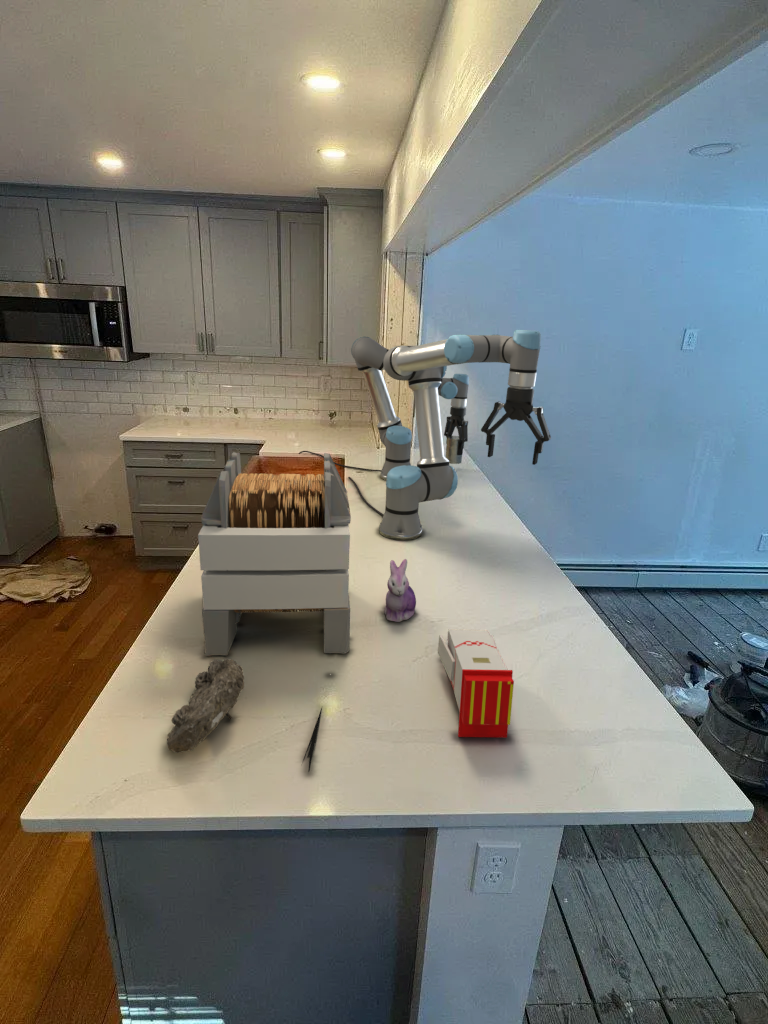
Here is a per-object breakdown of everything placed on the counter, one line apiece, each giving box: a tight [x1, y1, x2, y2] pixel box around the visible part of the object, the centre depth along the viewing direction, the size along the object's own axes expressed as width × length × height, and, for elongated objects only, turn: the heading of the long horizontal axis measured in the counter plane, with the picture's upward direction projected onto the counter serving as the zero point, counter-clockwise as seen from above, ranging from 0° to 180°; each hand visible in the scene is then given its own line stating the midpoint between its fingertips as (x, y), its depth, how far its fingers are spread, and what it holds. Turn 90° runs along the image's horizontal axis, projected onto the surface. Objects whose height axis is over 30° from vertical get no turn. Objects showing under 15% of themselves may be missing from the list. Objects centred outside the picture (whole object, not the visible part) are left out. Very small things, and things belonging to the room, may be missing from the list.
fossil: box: [166, 658, 245, 754], centre depth 106 cm, size 22×10×15 cm
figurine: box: [384, 558, 417, 623], centre depth 145 cm, size 9×10×15 cm
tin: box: [445, 435, 463, 465], centre depth 280 cm, size 8×8×12 cm
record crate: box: [197, 451, 352, 657], centre depth 136 cm, size 34×33×41 cm
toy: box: [437, 628, 515, 738], centre depth 117 cm, size 12×13×30 cm
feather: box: [301, 673, 332, 771], centre depth 108 cm, size 2×28×2 cm
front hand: (512, 460), depth 168 cm, fingers open, 13 cm apart
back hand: (454, 452), depth 280 cm, fingers closed on tin, 8 cm apart
